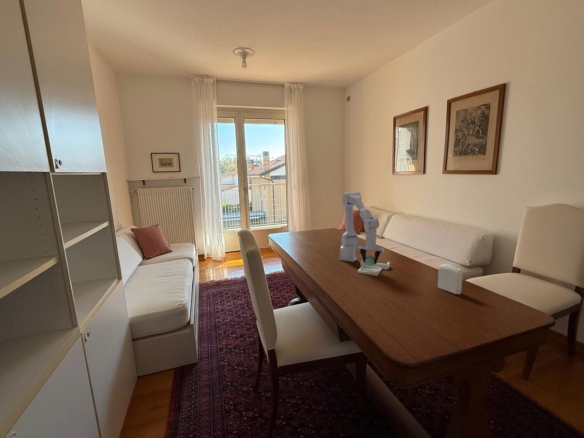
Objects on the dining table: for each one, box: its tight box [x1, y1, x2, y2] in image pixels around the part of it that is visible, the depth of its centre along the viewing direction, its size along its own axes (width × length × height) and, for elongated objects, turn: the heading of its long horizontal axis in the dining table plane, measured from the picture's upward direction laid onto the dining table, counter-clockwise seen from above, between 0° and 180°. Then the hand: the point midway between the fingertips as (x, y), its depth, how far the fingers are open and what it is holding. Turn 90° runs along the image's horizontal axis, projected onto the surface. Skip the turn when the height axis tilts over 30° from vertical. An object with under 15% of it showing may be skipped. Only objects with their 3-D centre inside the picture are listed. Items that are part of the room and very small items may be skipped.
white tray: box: [357, 265, 383, 277], centre depth 150 cm, size 11×11×1 cm
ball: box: [365, 255, 375, 266], centre depth 150 cm, size 6×6×6 cm
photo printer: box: [437, 263, 464, 295], centre depth 123 cm, size 10×4×12 cm, turn 26°
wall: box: [359, 260, 391, 271], centre depth 159 cm, size 16×6×3 cm, turn 60°
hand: (370, 263), depth 150 cm, fingers closed on ball, 6 cm apart
